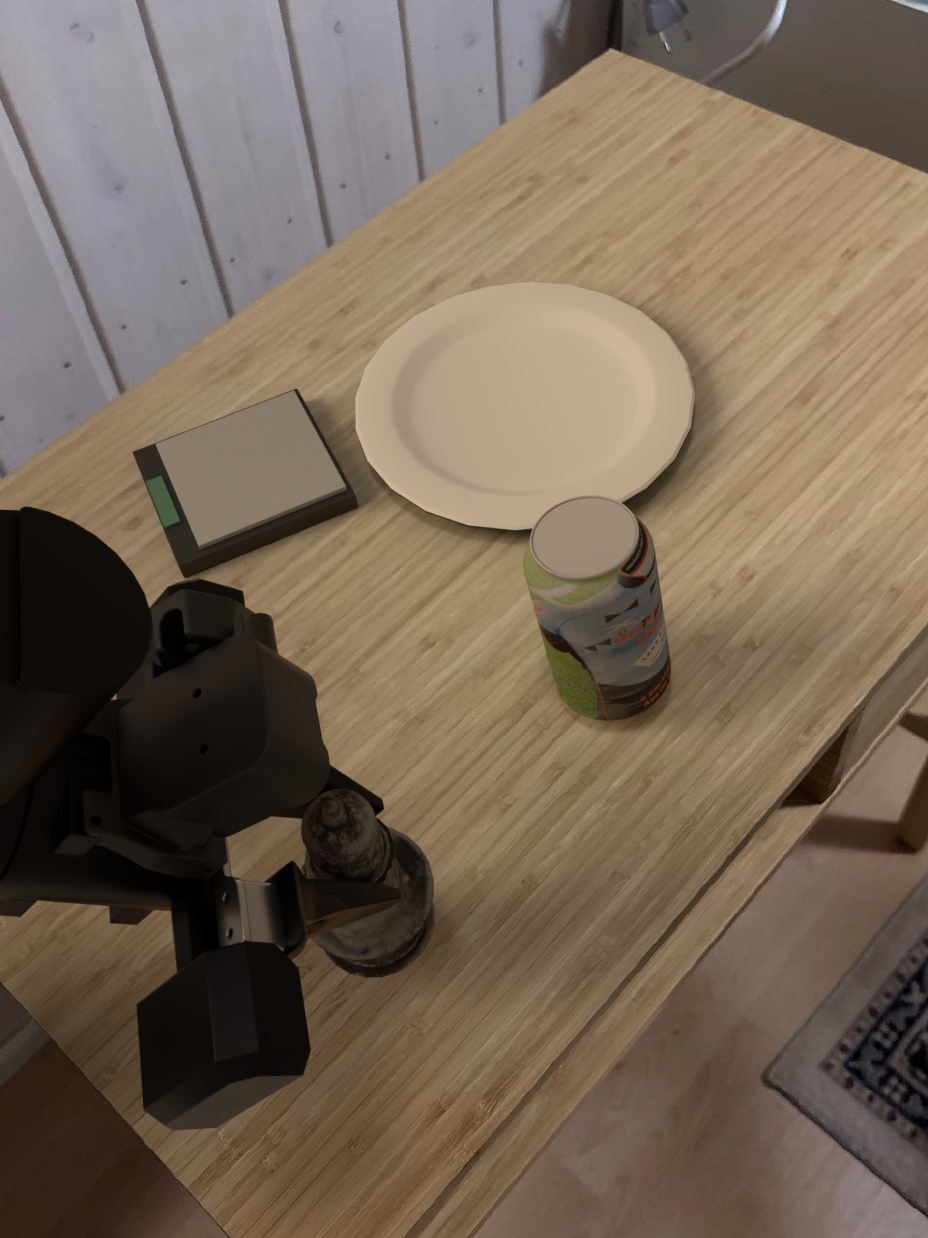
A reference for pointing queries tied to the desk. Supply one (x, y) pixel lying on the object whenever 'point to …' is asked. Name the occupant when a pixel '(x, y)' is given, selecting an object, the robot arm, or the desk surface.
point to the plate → (523, 404)
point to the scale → (243, 482)
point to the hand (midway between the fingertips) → (386, 854)
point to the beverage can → (599, 607)
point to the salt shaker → (369, 852)
